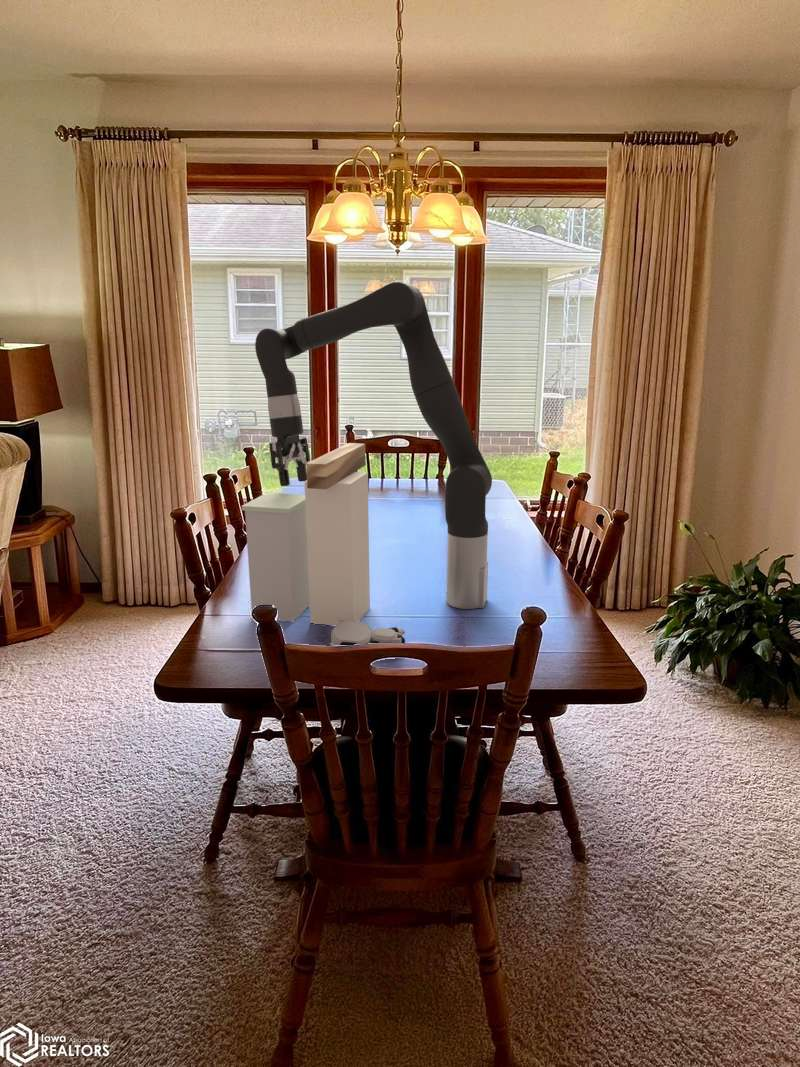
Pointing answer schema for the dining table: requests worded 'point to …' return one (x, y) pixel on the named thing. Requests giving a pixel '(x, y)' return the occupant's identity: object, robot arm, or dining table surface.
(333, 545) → the tall stand
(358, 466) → the wooden bar
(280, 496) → the low stand
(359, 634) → the robot toy
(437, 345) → the robot arm
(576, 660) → the dining table surface
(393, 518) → the dining table surface
